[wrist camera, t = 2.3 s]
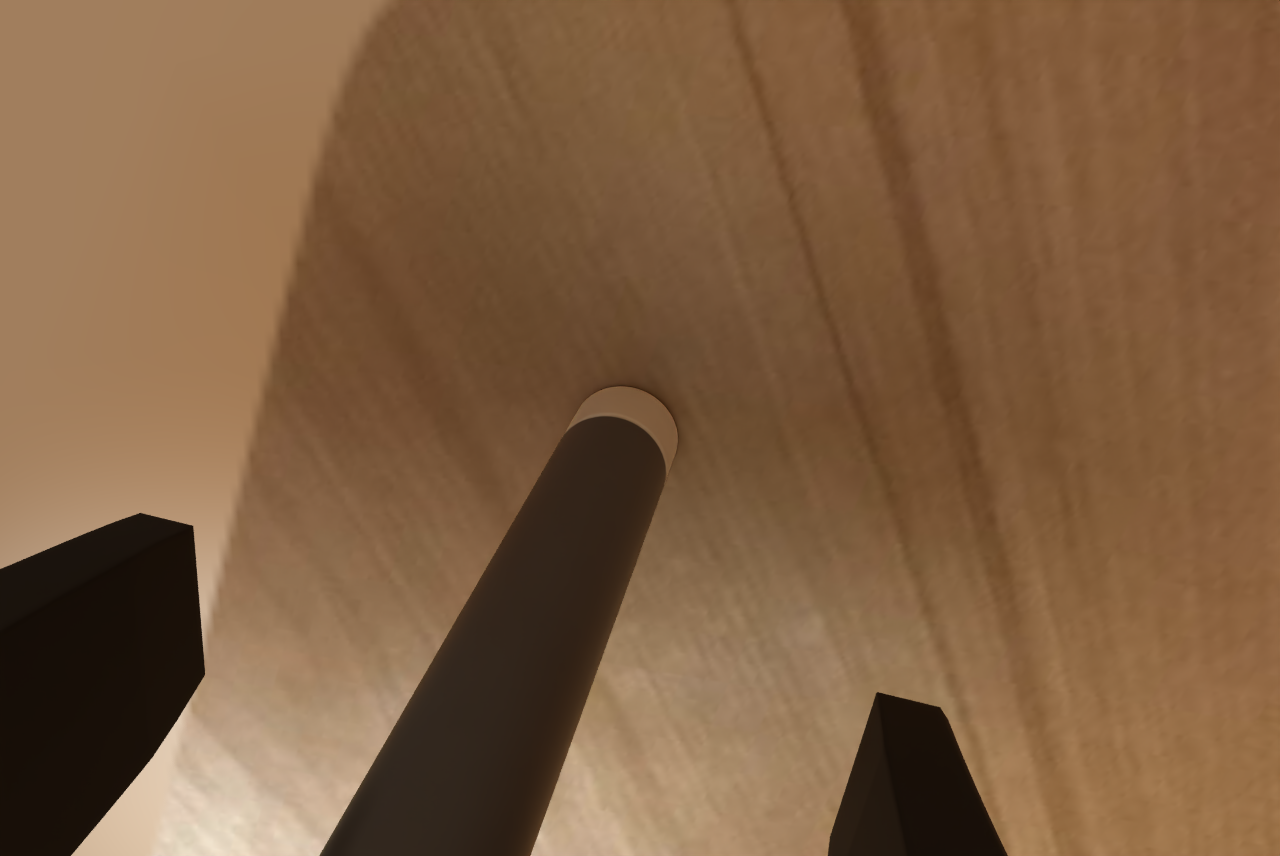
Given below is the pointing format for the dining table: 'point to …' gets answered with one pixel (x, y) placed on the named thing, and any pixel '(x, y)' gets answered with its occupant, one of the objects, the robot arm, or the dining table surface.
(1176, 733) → the dining table surface
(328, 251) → the dining table surface
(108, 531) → the robot arm
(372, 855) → the dark brown rod
